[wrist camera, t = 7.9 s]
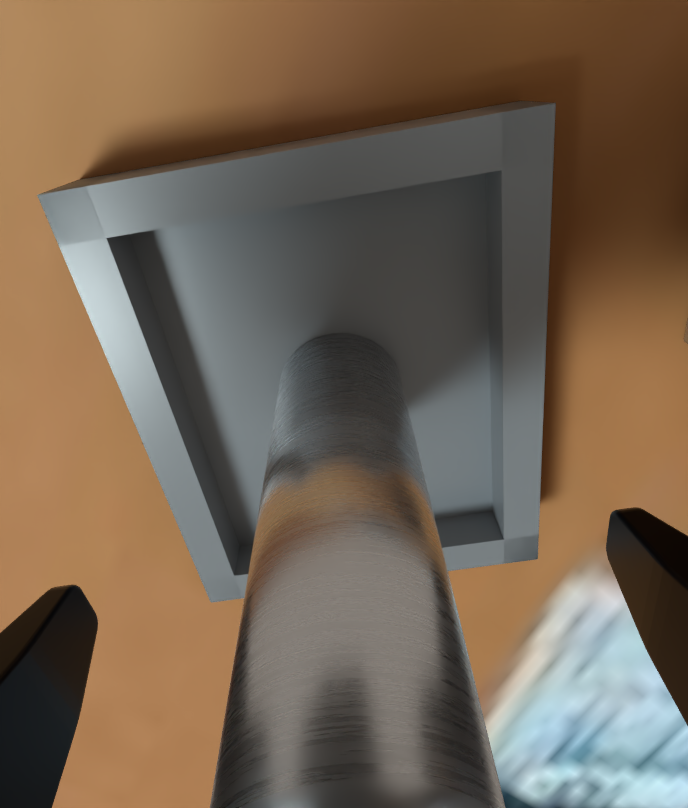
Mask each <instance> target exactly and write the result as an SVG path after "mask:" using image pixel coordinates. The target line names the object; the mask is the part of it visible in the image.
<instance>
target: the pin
mask: <svg viewBox="0 0 688 808" xmlns="http://www.w3.org/2000/svg"><path fill="white" fill-rule="evenodd" d="M210 808H505V804H504V800H503V796H502V792H501V788H500V784H499V779H498V775H497V771H496V767H495V763H494V759H493V755H492V751H491V747H490V743H489V738H488V734H487V730H486V726H485V722H484V718H483V714H482V710H481V706H480V702H479V698H478V693H477V689H476V685H475V681H474V677H473V673H472V669H471V665H470V661H469V657H468V652H467V648H466V644H465V640H464V636H463V632H462V628H461V624H460V620H459V616H458V612H457V607H456V603H455V599H454V595H453V591H452V587H451V583H450V579H449V575H448V571H447V566H446V562H445V558H444V554H443V550H442V546H441V542H440V538H439V534H438V530H437V526H436V521H435V517H434V513H433V509H432V505H431V501H430V497H429V493H428V489H427V485H426V480H425V476H424V472H423V468H422V464H421V460H420V456H419V452H418V448H417V444H416V440H415V435H414V431H413V427H412V423H411V419H410V415H409V411H408V407H407V403H406V399H405V394H404V390H403V386H402V382H401V378H400V374H399V371H398V368H397V366H396V364H395V362H394V360H393V359H392V357H391V356H390V354H389V353H388V352H387V351H386V350H385V349H384V348H383V347H381V346H380V345H379V344H377V343H376V342H374V341H372V340H370V339H368V338H366V337H363V336H360V335H356V334H350V333H331V334H326V335H322V336H319V337H316V338H314V339H312V340H310V341H308V342H306V343H304V344H303V345H301V346H300V347H299V348H298V349H297V350H296V351H294V353H293V354H292V355H291V356H290V357H289V359H288V361H287V362H286V364H285V366H284V368H283V371H282V374H281V378H280V384H279V390H278V397H277V403H276V409H275V415H274V421H273V427H272V433H271V439H270V445H269V451H268V457H267V463H266V469H265V476H264V482H263V488H262V494H261V500H260V506H259V512H258V518H257V524H256V530H255V536H254V542H253V549H252V555H251V561H250V567H249V573H248V579H247V585H246V591H245V597H244V603H243V609H242V615H241V622H240V628H239V634H238V640H237V646H236V652H235V658H234V664H233V670H232V676H231V682H230V688H229V695H228V701H227V707H226V713H225V719H224V725H223V731H222V737H221V743H220V749H219V755H218V761H217V768H216V774H215V780H214V786H213V792H212V798H211V804H210Z"/></svg>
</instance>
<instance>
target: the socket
mask: <svg viewBox="0 0 688 808" xmlns="http://www.w3.org/2000/svg"><path fill="white" fill-rule="evenodd" d="M684 341H685V342H686V343H687V344H688V320H687V325H686V331H685V336H684Z"/></svg>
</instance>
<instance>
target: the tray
mask: <svg viewBox="0 0 688 808" xmlns="http://www.w3.org/2000/svg"><path fill="white" fill-rule="evenodd" d="M555 108H556V103H549V102H533V101H517V102H512V103H506V104H501V105H495V106H489V107H484V108H478V109H473V110H467V111H461V112H456V113H450V114H445V115H439V116H433V117H428V118H422V119H417V120H411V121H405V122H400V123H394V124H388V125H383V126H377V127H372V128H366V129H360V130H355V131H349V132H344V133H338V134H332V135H327V136H321V137H316V138H310V139H304V140H299V141H293V142H288V143H282V144H276V145H271V146H265V147H260V148H254V149H248V150H243V151H237V152H232V153H226V154H220V155H215V156H209V157H203V158H198V159H192V160H187V161H181V162H175V163H170V164H164V165H159V166H153V167H147V168H142V169H136V170H131V171H125V172H119V173H114V174H108V175H103V176H97V177H91V178H86V179H80V180H76V181H74V182H71V183H68V184H66V185H63V186H60V187H58V188H55V189H52V190H49V191H47V192H44V193H41V194H39V195H38V198H39V200H40V203H41V205H42V207H43V210H44V212H45V214H46V217H47V219H48V221H49V224H50V226H51V228H52V231H53V233H54V235H55V238H56V240H57V242H58V245H59V247H60V249H61V252H62V254H63V256H64V259H65V261H66V264H67V266H68V268H69V271H70V273H71V275H72V278H73V280H74V282H75V285H76V287H77V289H78V292H79V294H80V296H81V299H82V301H83V303H84V306H85V308H86V310H87V313H88V315H89V318H90V320H91V322H92V325H93V327H94V329H95V332H96V334H97V336H98V339H99V341H100V343H101V346H102V348H103V350H104V353H105V355H106V357H107V360H108V362H109V364H110V367H111V369H112V372H113V374H114V376H115V379H116V381H117V383H118V386H119V388H120V390H121V393H122V395H123V397H124V400H125V402H126V404H127V407H128V409H129V411H130V414H131V416H132V418H133V421H134V423H135V426H136V428H137V430H138V433H139V435H140V437H141V440H142V442H143V444H144V447H145V449H146V451H147V454H148V456H149V458H150V461H151V463H152V465H153V468H154V470H155V472H156V475H157V477H158V480H159V482H160V484H161V487H162V489H163V491H164V494H165V496H166V498H167V501H168V503H169V505H170V508H171V510H172V512H173V515H174V517H175V519H176V522H177V524H178V526H179V529H180V531H181V534H182V536H183V538H184V541H185V543H186V545H187V548H188V550H189V552H190V555H191V557H192V559H193V562H194V564H195V566H196V569H197V571H198V573H199V576H200V578H201V580H202V583H203V585H204V587H205V590H206V592H207V595H208V597H209V599H210V602H218V601H225V600H233V599H241V598H244V597H245V591H246V585H247V579H248V573H249V567H250V561H251V555H252V549H253V542H254V536H255V530H256V524H257V518H258V512H259V506H260V500H261V494H262V488H263V482H264V476H265V469H266V463H267V457H268V451H269V445H270V439H271V433H272V427H273V421H274V415H275V409H276V403H277V397H278V390H279V384H280V378H281V374H282V371H283V368H284V366H285V364H286V362H287V361H288V359H289V357H290V356H291V355H292V354H293V353H294V351H296V350H297V349H298V348H299V347H300V346H301V345H303V344H304V343H306V342H308V341H310V340H312V339H314V338H316V337H319V336H322V335H326V334H331V333H350V334H356V335H360V336H363V337H366V338H368V339H370V340H372V341H374V342H376V343H377V344H379V345H380V346H381V347H383V348H384V349H385V350H386V351H387V352H388V353H389V354H390V356H391V357H392V359H393V360H394V362H395V364H396V366H397V368H398V371H399V374H400V378H401V382H402V386H403V390H404V394H405V399H406V403H407V407H408V411H409V415H410V419H411V423H412V427H413V431H414V435H415V440H416V444H417V448H418V452H419V456H420V460H421V464H422V468H423V472H424V476H425V480H426V485H427V489H428V493H429V497H430V501H431V505H432V509H433V513H434V517H435V521H436V526H437V530H438V534H439V538H440V542H441V546H442V550H443V554H444V558H445V562H446V566H447V571H452V570H459V569H467V568H474V567H482V566H489V565H497V564H504V563H512V562H519V561H527V560H535V559H538V536H539V511H540V486H541V461H542V436H543V410H544V385H545V360H546V335H547V309H548V284H549V259H550V234H551V209H552V183H553V158H554V133H555Z"/></svg>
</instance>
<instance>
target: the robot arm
mask: <svg viewBox="0 0 688 808" xmlns="http://www.w3.org/2000/svg"><path fill="white" fill-rule="evenodd" d="M606 551H607V556H608V560H609V562H610V565H611V567H612V570H613V572H614V574H615V577H616V579H617V581H618V584H619V586H620V589H621V591H622V593H623V596H624V598H625V601H626V603H627V605H628V608H629V610H630V613H631V615H632V617H633V620H634V622H635V625H636V627H637V629H638V632H639V634H640V636H641V639H642V641H643V643H644V645H645V648H646V650H647V652H648V654H649V656H650V658H651V659H652V661H653V663H654V665H655V667H656V669H657V671H658V672H659V674H660V676H661V678H662V680H663V682H664V683H665V685H666V687H667V689H668V691H669V693H670V694H671V696H672V698H673V700H674V702H675V703H676V705H677V707H678V709H679V711H680V713H681V714H682V716H683V718H684V720H685V722H686V724H687V725H688V536H687V535H685V534H684V533H682V532H680V531H678V530H677V529H675V528H673V527H672V526H670V525H668V524H667V523H665V522H663V521H662V520H660V519H658V518H657V517H655V516H653V515H652V514H650V513H648V512H647V511H645V510H643V509H641V508H636V507H634V508H627V509H619V510H615V511H613V512H612V513H611V515H610V520H609V528H608V536H607V543H606ZM97 628H98V620H97V616H96V613H95V611H94V610H93V608H92V606H91V605H90V603H89V601H88V600H87V598H86V596H85V595H84V593H83V592H82V590H81V589H80V587H78V586H76V585H66V586H59V587H54V588H51V589H50V590H48V591H47V592H46V593H45V594H44V595H42V596H41V597H40V598H39V599H38V600H37V601H36V602H35V603H33V604H32V605H31V606H30V607H29V608H28V609H27V610H26V611H24V612H23V613H22V614H21V615H20V616H19V617H18V618H17V619H15V620H14V621H13V622H12V623H11V624H10V625H9V626H8V627H7V628H5V629H4V630H3V631H2V632H1V633H0V808H52V805H53V802H54V799H55V796H56V792H57V789H58V786H59V783H60V779H61V776H62V773H63V770H64V766H65V763H66V760H67V757H68V753H69V750H70V747H71V744H72V740H73V737H74V734H75V730H76V727H77V723H78V720H79V716H80V711H81V707H82V703H83V698H84V693H85V688H86V683H87V678H88V673H89V668H90V663H91V659H92V654H93V649H94V644H95V639H96V634H97Z"/></svg>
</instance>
